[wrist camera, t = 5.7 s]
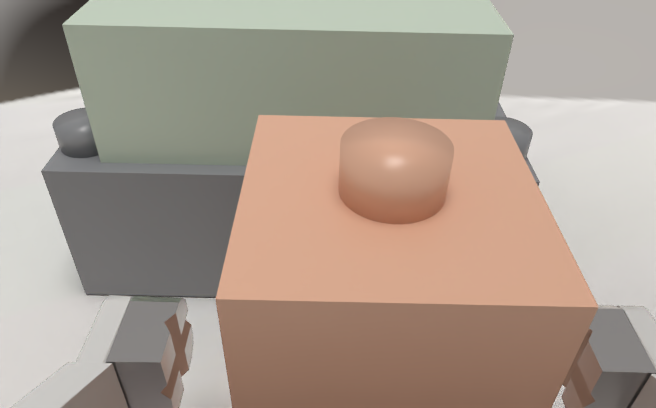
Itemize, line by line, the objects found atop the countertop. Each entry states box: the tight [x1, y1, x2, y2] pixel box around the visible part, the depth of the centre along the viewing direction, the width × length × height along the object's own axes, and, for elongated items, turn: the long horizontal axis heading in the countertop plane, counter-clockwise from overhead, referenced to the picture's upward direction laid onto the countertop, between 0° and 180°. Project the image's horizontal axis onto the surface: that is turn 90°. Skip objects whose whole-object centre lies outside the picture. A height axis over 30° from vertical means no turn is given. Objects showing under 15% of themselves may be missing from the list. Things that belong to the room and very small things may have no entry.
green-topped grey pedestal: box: [41, 0, 539, 297], centre depth 20 cm, size 14×10×9 cm
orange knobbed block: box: [216, 115, 599, 408], centre depth 11 cm, size 4×4×10 cm
